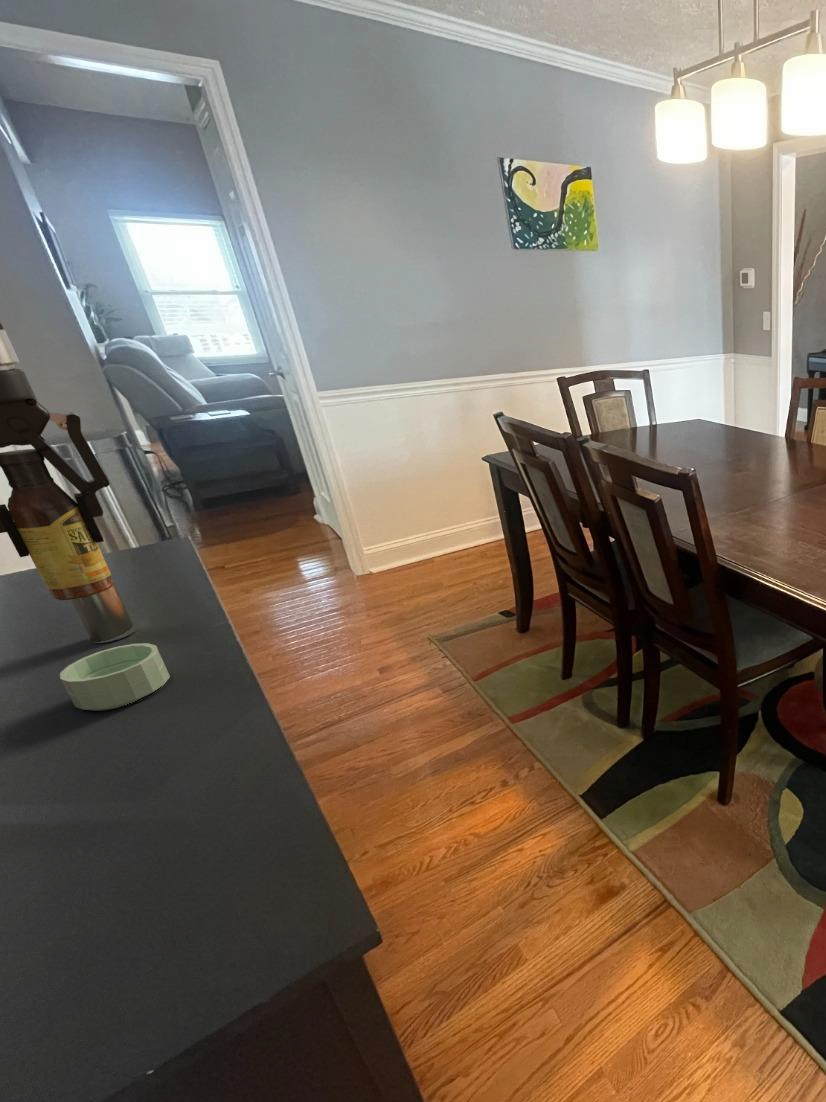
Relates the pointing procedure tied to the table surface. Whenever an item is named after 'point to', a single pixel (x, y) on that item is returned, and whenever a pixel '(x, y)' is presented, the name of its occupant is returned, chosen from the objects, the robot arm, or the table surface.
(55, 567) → the sauce bottle
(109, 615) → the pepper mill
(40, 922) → the table surface
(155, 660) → the bowl
